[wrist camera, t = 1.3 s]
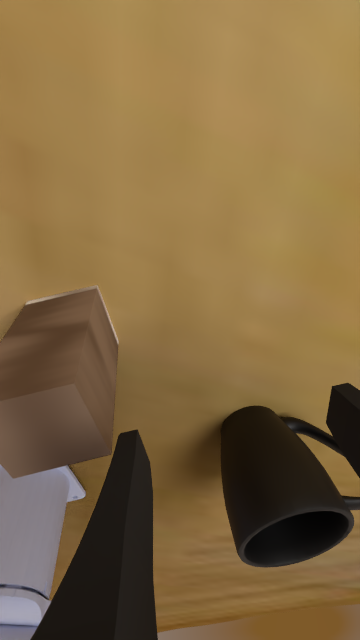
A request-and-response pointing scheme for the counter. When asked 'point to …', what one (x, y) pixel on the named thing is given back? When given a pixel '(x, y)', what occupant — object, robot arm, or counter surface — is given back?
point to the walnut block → (57, 383)
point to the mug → (280, 490)
